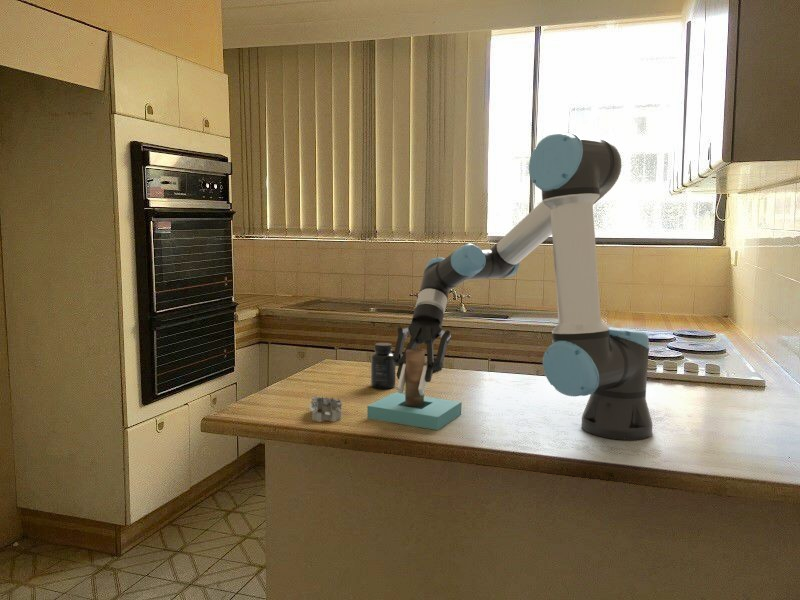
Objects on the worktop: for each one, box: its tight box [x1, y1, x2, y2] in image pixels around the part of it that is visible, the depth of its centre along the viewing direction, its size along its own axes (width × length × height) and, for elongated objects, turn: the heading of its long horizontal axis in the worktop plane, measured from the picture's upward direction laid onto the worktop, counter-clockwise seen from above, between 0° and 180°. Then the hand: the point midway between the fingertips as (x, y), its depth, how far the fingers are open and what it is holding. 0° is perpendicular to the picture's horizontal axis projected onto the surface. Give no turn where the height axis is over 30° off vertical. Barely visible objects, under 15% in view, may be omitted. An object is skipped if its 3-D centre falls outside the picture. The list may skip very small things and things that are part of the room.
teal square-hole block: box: [366, 391, 463, 431], centre depth 158 cm, size 18×14×3 cm
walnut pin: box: [404, 348, 426, 407], centre depth 157 cm, size 4×4×13 cm
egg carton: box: [309, 395, 343, 423], centre depth 158 cm, size 11×8×4 cm
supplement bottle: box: [370, 342, 397, 390], centre depth 185 cm, size 7×7×12 cm
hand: (410, 391), depth 154 cm, fingers closed on walnut pin, 4 cm apart
